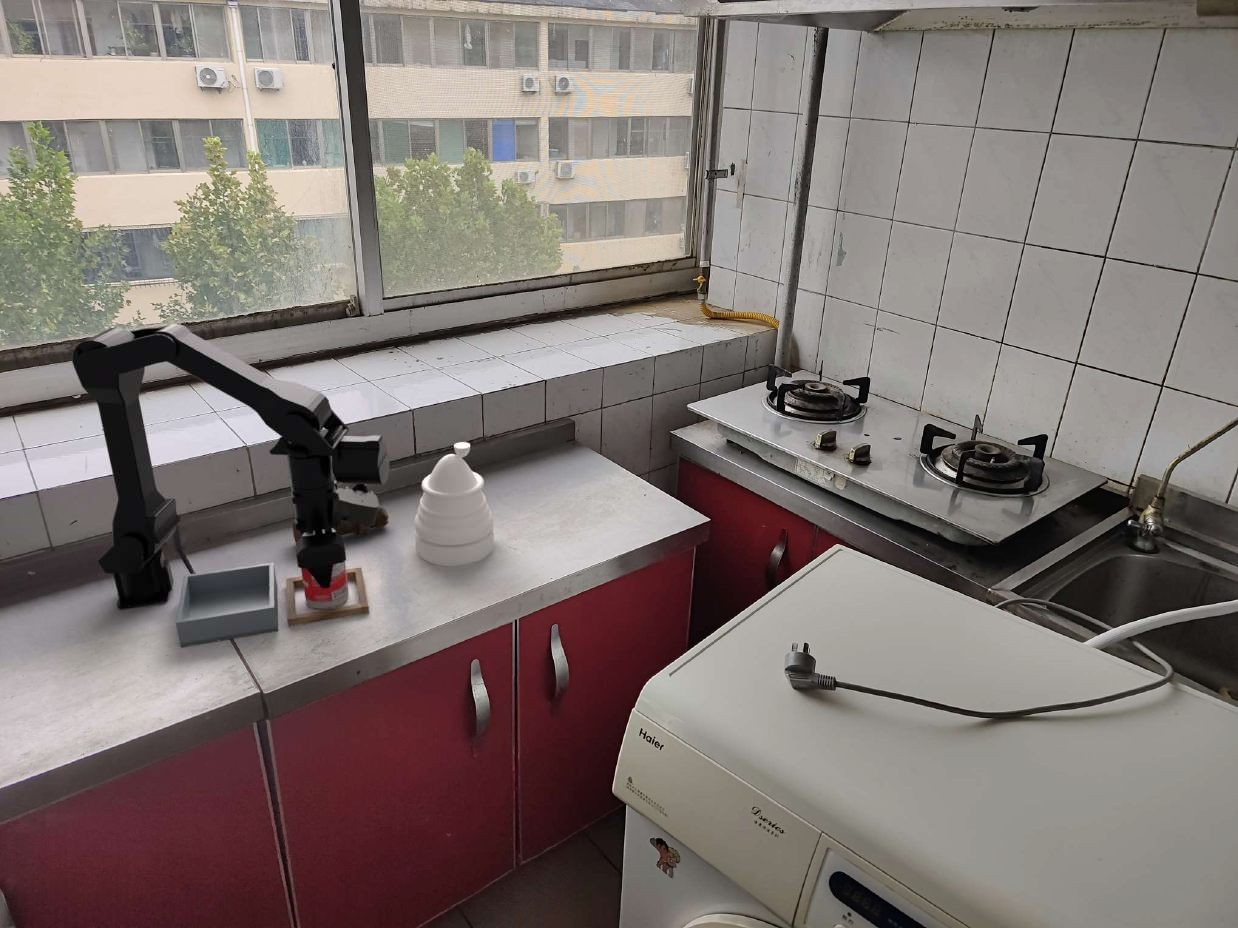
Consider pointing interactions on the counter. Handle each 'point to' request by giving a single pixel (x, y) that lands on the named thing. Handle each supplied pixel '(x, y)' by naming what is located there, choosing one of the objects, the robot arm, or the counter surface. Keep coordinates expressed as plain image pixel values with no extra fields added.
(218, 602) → the bin
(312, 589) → the pill bottle
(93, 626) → the counter surface
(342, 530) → the bolt
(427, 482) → the honey pot
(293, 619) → the wooden frame
